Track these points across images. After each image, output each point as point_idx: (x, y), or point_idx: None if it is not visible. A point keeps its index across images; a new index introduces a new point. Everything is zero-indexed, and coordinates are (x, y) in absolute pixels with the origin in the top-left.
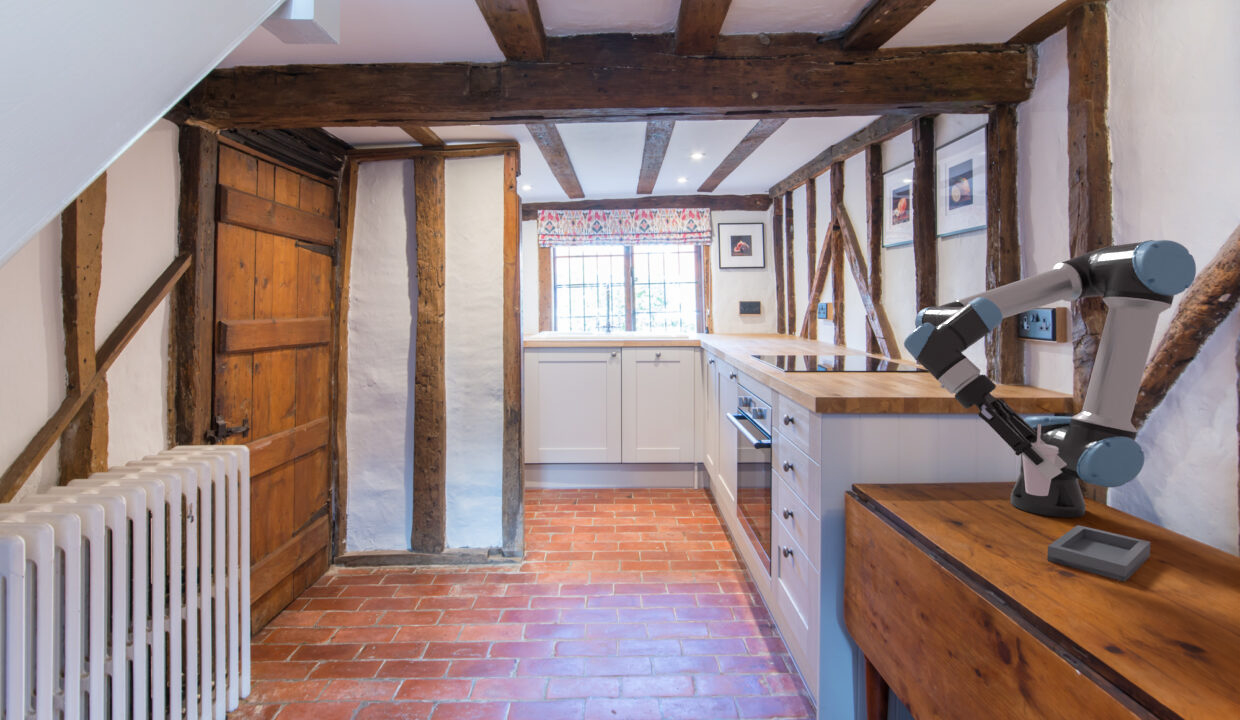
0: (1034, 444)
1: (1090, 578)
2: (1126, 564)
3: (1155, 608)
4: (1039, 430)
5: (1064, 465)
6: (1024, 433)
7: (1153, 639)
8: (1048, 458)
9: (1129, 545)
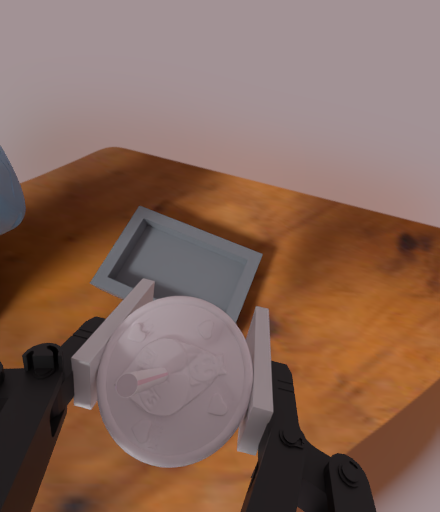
0: (160, 393)
1: (268, 298)
2: (255, 252)
3: (325, 249)
4: (150, 379)
5: (153, 286)
6: (40, 453)
7: (414, 269)
8: (255, 343)
9: (141, 231)
